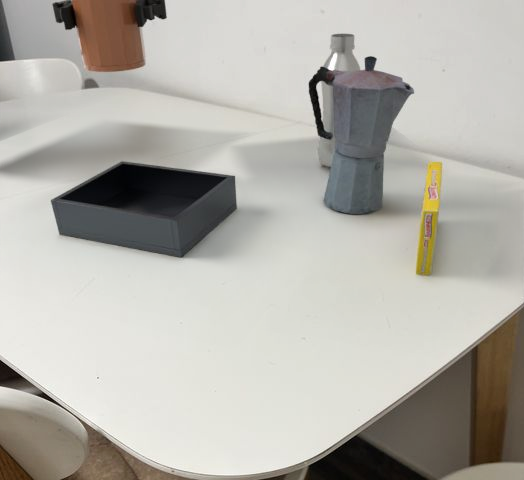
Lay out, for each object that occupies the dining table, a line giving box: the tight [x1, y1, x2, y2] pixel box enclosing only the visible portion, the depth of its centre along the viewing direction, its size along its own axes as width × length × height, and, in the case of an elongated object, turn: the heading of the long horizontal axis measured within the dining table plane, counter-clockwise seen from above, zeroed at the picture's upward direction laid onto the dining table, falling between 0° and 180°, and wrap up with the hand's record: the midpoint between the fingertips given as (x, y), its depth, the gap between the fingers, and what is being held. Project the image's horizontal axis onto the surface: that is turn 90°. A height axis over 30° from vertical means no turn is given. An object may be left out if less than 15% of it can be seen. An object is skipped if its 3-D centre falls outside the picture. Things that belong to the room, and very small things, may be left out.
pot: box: [71, 0, 147, 73], centre depth 85 cm, size 9×9×12 cm
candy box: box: [415, 161, 443, 276], centre depth 71 cm, size 16×2×8 cm, turn 165°
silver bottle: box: [317, 33, 361, 168], centre depth 93 cm, size 6×7×20 cm
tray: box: [50, 160, 238, 258], centre depth 81 cm, size 20×17×5 cm
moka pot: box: [308, 55, 415, 215], centre depth 79 cm, size 10×15×20 cm, turn 60°
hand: (102, 17), depth 81 cm, fingers closed on pot, 9 cm apart
